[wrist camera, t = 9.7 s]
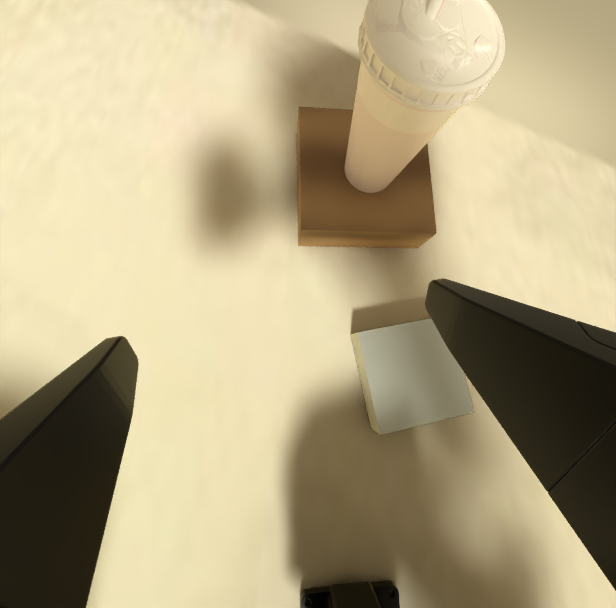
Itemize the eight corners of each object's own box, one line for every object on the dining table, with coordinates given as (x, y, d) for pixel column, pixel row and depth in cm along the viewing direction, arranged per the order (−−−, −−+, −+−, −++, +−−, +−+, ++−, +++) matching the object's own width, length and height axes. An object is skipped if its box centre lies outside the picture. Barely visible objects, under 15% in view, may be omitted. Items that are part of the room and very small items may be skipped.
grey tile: (457, 407, 22) (474, 412, 20) (370, 427, 21) (380, 435, 19) (433, 318, 23) (447, 314, 21) (350, 334, 23) (357, 332, 21)
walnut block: (417, 247, 24) (436, 233, 21) (298, 245, 23) (301, 230, 20) (407, 142, 26) (424, 114, 23) (296, 135, 25) (299, 106, 22)
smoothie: (380, 120, 23) (535, -241, 9) (425, 187, 22) (668, -93, 8) (310, 153, 22) (364, -201, 8) (355, 224, 21) (502, -26, 7)
